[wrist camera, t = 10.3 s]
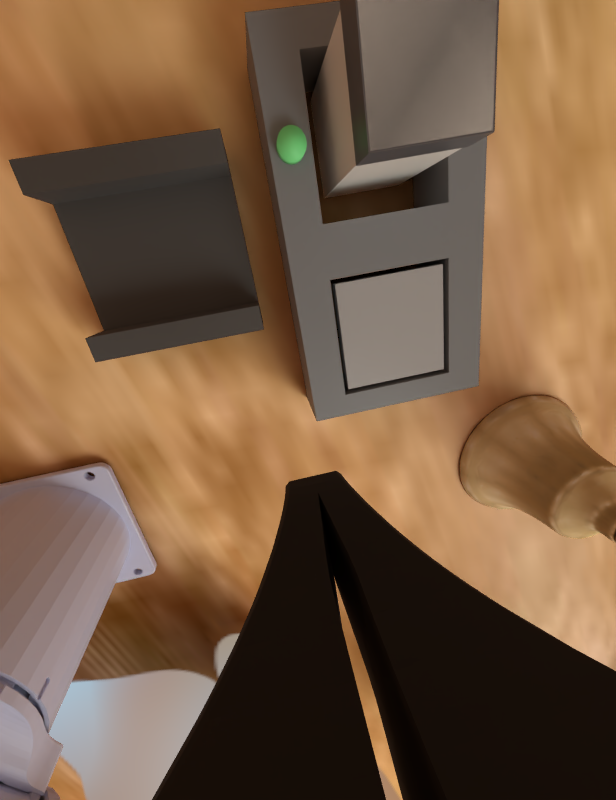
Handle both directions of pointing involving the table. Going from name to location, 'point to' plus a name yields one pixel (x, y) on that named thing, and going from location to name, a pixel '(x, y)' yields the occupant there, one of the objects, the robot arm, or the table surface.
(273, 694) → the robot arm
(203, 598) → the table surface
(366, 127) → the plug
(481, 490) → the hand bell
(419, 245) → the port panel
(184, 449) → the table surface
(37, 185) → the dark grey bracket
